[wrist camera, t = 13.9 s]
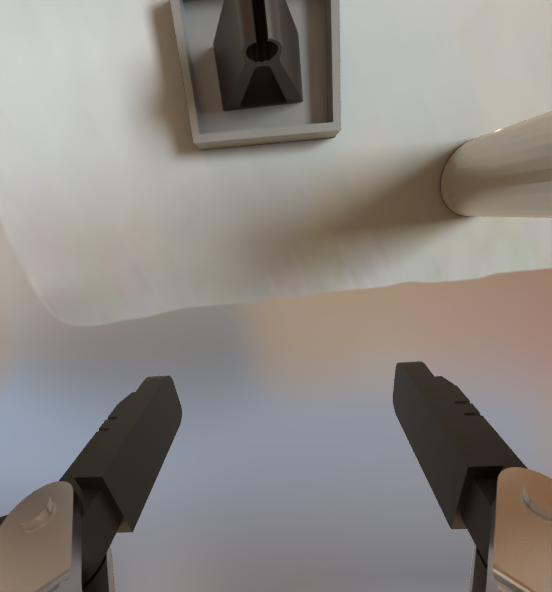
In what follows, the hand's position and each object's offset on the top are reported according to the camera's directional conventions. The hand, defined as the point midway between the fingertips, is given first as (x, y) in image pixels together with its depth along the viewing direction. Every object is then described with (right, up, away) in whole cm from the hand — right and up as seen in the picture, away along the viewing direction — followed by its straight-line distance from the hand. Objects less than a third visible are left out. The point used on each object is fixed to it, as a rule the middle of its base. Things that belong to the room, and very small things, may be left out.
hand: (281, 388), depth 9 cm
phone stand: (-2, +27, +19) cm, 34 cm away
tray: (-2, +28, +20) cm, 34 cm away
